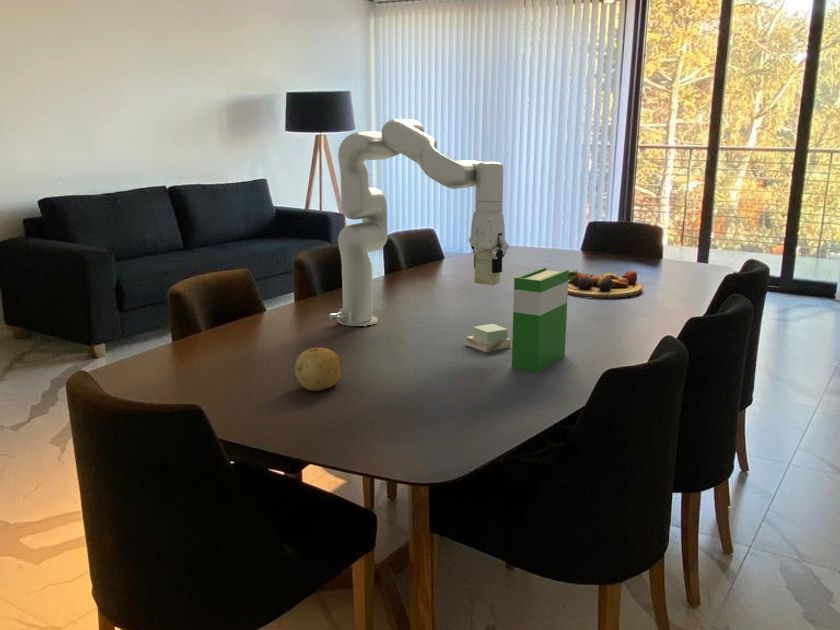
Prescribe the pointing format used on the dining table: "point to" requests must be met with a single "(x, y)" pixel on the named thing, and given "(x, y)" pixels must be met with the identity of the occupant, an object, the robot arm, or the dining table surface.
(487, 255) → the skincare box
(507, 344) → the tower base
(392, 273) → the dining table surface
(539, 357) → the hardback book
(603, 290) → the wooden plate with food
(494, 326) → the tower top
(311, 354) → the potato
